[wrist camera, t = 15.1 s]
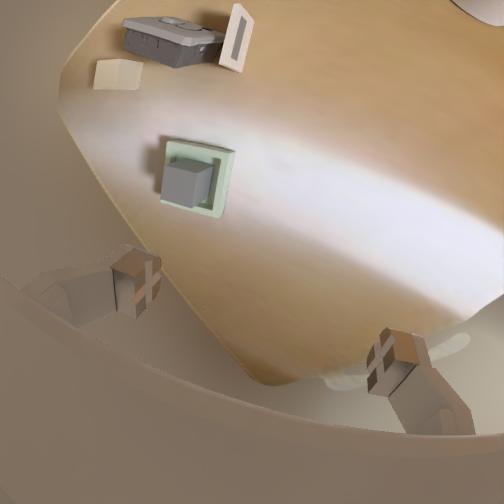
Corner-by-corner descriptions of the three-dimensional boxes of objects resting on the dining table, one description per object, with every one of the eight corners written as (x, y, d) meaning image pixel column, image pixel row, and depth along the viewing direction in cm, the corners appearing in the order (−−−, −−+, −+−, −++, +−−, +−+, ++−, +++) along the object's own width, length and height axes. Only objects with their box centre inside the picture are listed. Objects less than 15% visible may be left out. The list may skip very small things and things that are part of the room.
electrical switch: (234, 38, 26) (198, 22, 18) (215, 73, 29) (174, 70, 21) (173, 17, 26) (127, 4, 18) (157, 50, 29) (109, 46, 21)
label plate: (249, 20, 24) (233, 3, 19) (255, 21, 24) (240, 3, 19) (236, 72, 28) (218, 64, 23) (242, 73, 28) (225, 64, 23)
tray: (175, 139, 33) (167, 141, 31) (235, 151, 32) (229, 153, 30) (168, 197, 37) (160, 202, 35) (223, 212, 36) (217, 218, 34)
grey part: (184, 158, 33) (164, 165, 29) (214, 165, 33) (197, 173, 28) (180, 188, 35) (160, 199, 31) (208, 196, 35) (191, 208, 30)
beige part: (121, 63, 30) (97, 60, 25) (143, 62, 29) (120, 58, 25) (116, 89, 32) (92, 89, 27) (138, 90, 31) (115, 89, 27)
